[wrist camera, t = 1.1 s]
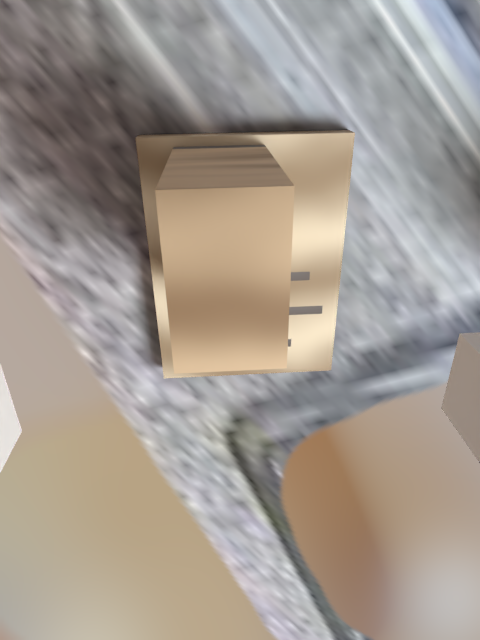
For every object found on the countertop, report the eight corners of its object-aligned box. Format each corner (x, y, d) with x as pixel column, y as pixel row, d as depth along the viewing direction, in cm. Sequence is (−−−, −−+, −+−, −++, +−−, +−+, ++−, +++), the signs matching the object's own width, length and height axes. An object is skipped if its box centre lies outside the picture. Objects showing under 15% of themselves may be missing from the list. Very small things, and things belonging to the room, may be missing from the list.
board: (138, 135, 26) (135, 138, 25) (348, 130, 26) (354, 132, 25) (165, 368, 33) (163, 378, 32) (327, 360, 34) (330, 370, 33)
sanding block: (173, 146, 25) (154, 189, 16) (264, 144, 25) (294, 186, 16) (184, 280, 29) (174, 373, 20) (263, 277, 29) (286, 368, 20)
